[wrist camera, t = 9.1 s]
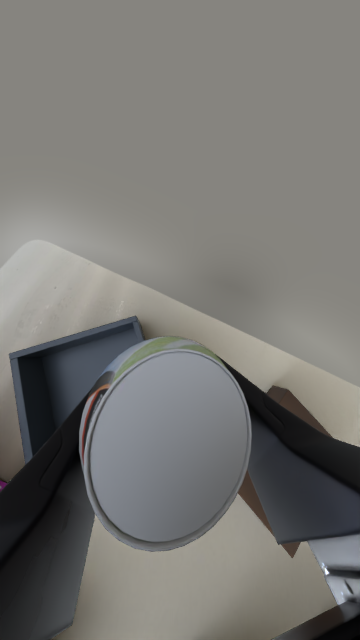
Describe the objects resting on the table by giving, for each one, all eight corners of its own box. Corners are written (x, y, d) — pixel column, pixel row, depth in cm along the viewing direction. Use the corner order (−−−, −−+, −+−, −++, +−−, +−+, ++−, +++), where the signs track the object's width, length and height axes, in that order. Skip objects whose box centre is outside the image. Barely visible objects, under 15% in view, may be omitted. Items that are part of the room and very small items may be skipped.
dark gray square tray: (168, 413, 20) (171, 428, 16) (60, 464, 17) (30, 498, 13) (139, 322, 23) (135, 315, 19) (39, 353, 20) (8, 353, 16)
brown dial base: (272, 528, 19) (294, 561, 16) (215, 460, 20) (226, 479, 17) (322, 439, 23) (347, 452, 20) (272, 385, 24) (289, 389, 21)
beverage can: (124, 347, 16) (15, 321, 4) (191, 345, 16) (258, 320, 5) (120, 412, 14) (-74, 673, 2) (194, 406, 15) (303, 579, 3)
